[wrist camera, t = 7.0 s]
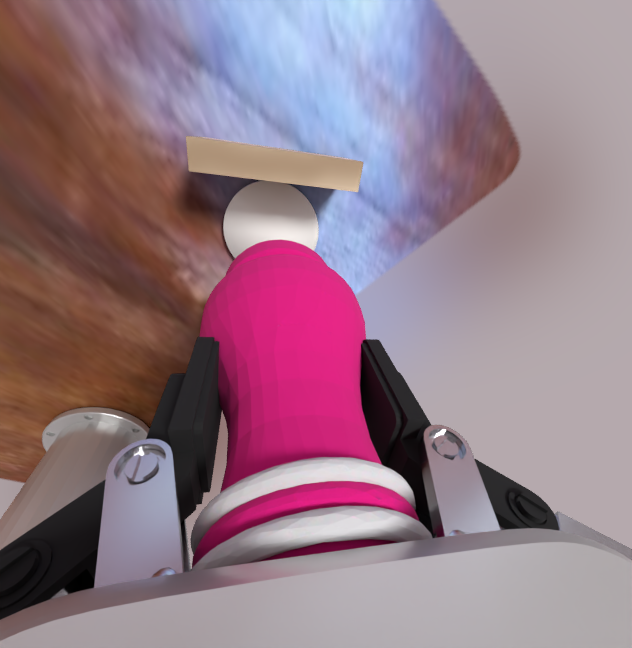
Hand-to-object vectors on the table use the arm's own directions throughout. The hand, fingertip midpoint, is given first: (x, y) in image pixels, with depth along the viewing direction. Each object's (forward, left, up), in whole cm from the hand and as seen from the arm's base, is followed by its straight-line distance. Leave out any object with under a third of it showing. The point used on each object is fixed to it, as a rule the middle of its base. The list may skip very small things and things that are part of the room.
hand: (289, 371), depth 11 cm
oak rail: (+6, 0, -21) cm, 22 cm away
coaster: (0, 0, -21) cm, 21 cm away
